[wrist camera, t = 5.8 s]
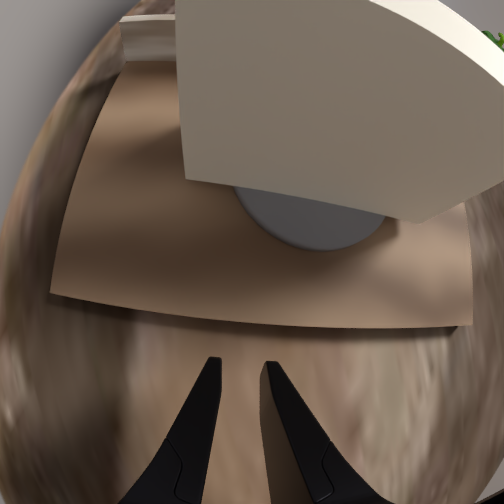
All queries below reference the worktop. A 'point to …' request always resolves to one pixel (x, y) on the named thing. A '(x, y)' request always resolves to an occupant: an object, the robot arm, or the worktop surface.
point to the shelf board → (230, 229)
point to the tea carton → (338, 111)
